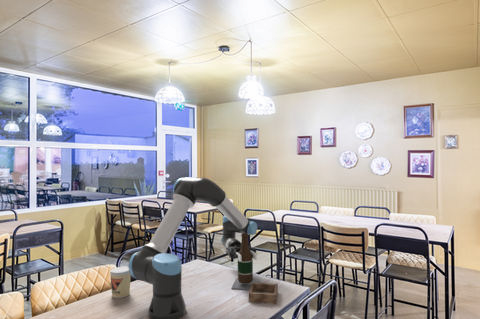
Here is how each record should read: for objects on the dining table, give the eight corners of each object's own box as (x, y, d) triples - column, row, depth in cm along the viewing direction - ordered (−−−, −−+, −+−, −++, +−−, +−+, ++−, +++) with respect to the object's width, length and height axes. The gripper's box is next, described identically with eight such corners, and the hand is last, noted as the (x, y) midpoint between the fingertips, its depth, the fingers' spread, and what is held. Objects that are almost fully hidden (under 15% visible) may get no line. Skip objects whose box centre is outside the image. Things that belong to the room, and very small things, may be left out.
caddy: (248, 302, 141) (248, 293, 141) (252, 290, 153) (252, 282, 153) (276, 304, 139) (276, 294, 139) (277, 292, 151) (277, 284, 151)
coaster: (231, 289, 155) (231, 287, 155) (235, 279, 167) (235, 278, 167) (255, 290, 153) (255, 289, 153) (258, 281, 165) (258, 279, 165)
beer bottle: (251, 284, 156) (251, 235, 156) (236, 283, 157) (235, 235, 157) (254, 278, 163) (253, 232, 163) (239, 277, 165) (238, 231, 165)
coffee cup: (105, 296, 148) (105, 271, 148) (121, 289, 156) (121, 265, 156) (119, 300, 144) (119, 274, 144) (135, 292, 152) (135, 267, 152)
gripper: (250, 250, 181) (267, 263, 159) (216, 254, 174) (228, 267, 152) (250, 237, 181) (267, 248, 159) (216, 240, 174) (228, 252, 152)
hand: (248, 257), depth 156 cm, fingers closed on beer bottle, 7 cm apart
